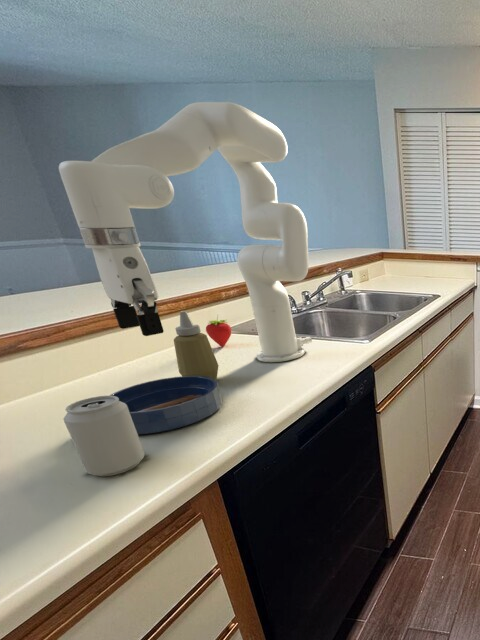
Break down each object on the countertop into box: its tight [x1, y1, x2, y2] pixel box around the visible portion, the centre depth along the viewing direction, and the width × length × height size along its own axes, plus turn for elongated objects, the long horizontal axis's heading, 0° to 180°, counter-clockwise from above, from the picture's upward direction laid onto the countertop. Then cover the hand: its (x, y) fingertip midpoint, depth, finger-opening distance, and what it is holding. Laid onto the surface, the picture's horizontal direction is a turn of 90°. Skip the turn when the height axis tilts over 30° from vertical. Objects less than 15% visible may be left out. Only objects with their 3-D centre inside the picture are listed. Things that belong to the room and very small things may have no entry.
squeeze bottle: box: [173, 310, 220, 382], centre depth 102 cm, size 8×8×18 cm
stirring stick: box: [137, 395, 202, 412], centre depth 89 cm, size 14×3×2 cm, turn 150°
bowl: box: [108, 375, 223, 435], centre depth 88 cm, size 19×19×5 cm
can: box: [62, 395, 146, 477], centre depth 69 cm, size 8×8×12 cm
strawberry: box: [205, 315, 232, 347], centre depth 131 cm, size 6×8×10 cm
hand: (141, 330), depth 82 cm, fingers open, 9 cm apart
